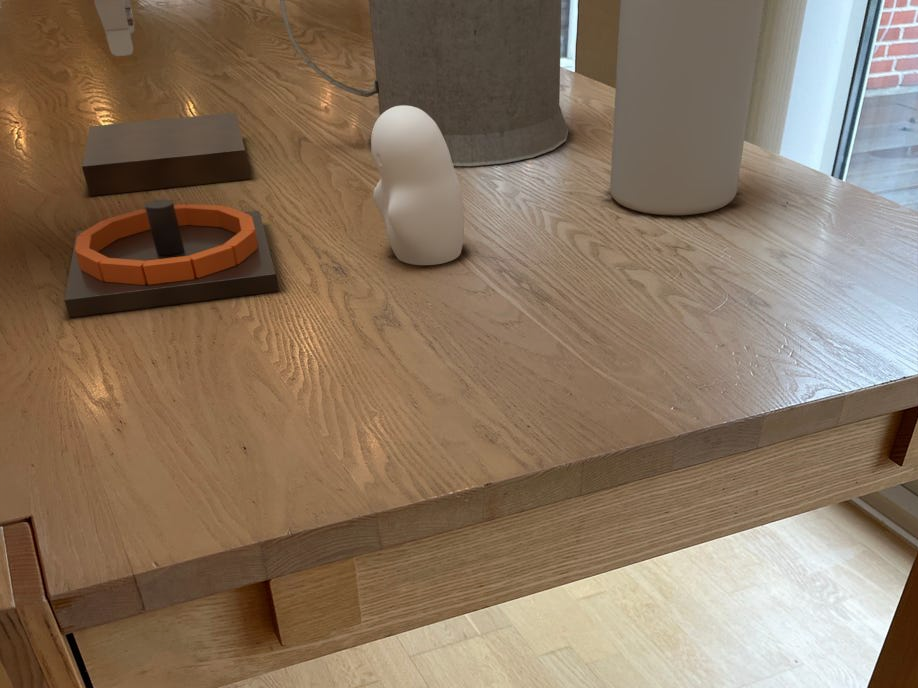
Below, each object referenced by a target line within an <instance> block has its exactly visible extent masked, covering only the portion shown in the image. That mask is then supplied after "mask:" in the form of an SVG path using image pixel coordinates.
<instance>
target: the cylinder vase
mask: <svg viewBox="0 0 918 688" xmlns="http://www.w3.org/2000/svg"><path fill="white" fill-rule="evenodd" d="M764 2H765V0H620V3H619V6H620V7H619V23H618V40H617V56H616V57H617V59H616V74H615V90H614V91H615V94H614V110H613V126H612V127H613V128H612V145H611V146H612V147H611V162H610V163H611V165H610V180H609V181H610V182H609V191H610V192H609V193H610V195H611V197H612V198H613V199H614V201H616V203H618V204H619V205H621V206H623V207H625V208H627V209H629V210H633V211H636V212H640V213H643V214H644V213H645V214H651V215H657V216H658V215H659V216H690V215H691V216H692V215H699V214H705V213H710V212H713V211H716V210H719V209H721V208H724V207H726V206H727V205H729V204H730V203H731V202H732V201H733V200H734V198H735V197H736V195H737V193H738V187H739V180H740V173H741V165H742V159H743V152H744V143H745V137H746V130H747V124H748V118H749V117H748V115H749V108H750V104H751V103H750V101H751V95H752V88H753V80H754V74H755V66H756V60H757V54H758V53H757V52H758V46H759V45H758V44H759V38H760V31H761V23H762V18H763V17H762V16H763V12H764V11H763V9H764V4H765V3H764Z"/></svg>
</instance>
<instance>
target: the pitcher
mask: <svg viewBox="0 0 918 688" xmlns="http://www.w3.org/2000/svg"><path fill="white" fill-rule="evenodd" d="M279 1H280V8H281V13H282V18H283V22H284V25H285V29H286V32H287V35H288V37H289V41H290V42H291V44H292V45H293V48H294V49H295V51H296V52H297V53H298V55H299V56H300V57H301V58H302V60H303V61H304V62H305V63H306V64H307V65H308V66H309V67H310V68H311V69H312V70H313V71H314V72H315V73H317V74H318V75H319V76H320V77H321V78H323V79H324V80H326V81H327V82H328V83H330V84H331V85H333V86H335V87H337V88H339V89H341V90H343V91H345V92H347V93H350V94H353V95H356V96H359V97H366V98H369V97H371V96H374V95H376V94H377V101H378V102H377V103H378V110H379V111H378V112H379V114H378V118H379V117H380V115H381V114H382V113H384V112H385V111H386V110H388V109H390V108H392V107H395V106H401V105H406V106H413V107H416V108H419V109H421V110H422V111H424V112H425V113H426V114H427V115H429V116H430V117H431V118H432V119H433V120H434V122H435V123H436V124H437V126H438V128H439V129H440V131H441V133H442V135H443V138H444V140H445V142H446V144H447V147H448V150H449V153H450V156H451V160H452V163H453V167H482V166H492V165H501V164H502V165H503V164H509V163H512V162H513V163H514V162H518V161H523V160H528V159H532V158H535V157H538V156H541V155H543V154H547V153H549V152H552V151H555V150H556V149H557V148H559V147H560V146H561V145H563V144H564V143H565V142H566V141H567V139H568V133H569V130H568V127H567V124H566V120H565V118H564V115H563V114H564V113H563V111H562V109H561V106H560V101H561V100H560V99H561V98H560V97H561V96H560V93H561V92H560V91H561V47H562V45H561V41H562V40H561V39H562V1H563V0H368V3H369V4H368V5H369V17H370V27H371V38H372V48H373V60H374V68H375V79H373V88H371V89H370V90H361V89H357V88H354V87H352V86H349V85H347V84H344V83H343V82H340V81H339V80H337V79H334V78H333V77H331V76H330V75H329V74H327V73H325V71H323V70H322V69H321V68H319V67H318V66H317V65H316V64H315V63H314V62H313V61H312V60H311V59H310V57H308V56H307V55H306V53H305V52H304V51H303V50H302V48H301V47H300V45H299V44H298V42H297V41H296V39H295V37H294V34H293V32H292V29H291V26H290V22H289V19H288V13H287V9H286V3H285V0H279Z"/></svg>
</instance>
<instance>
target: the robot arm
mask: <svg viewBox="0 0 918 688" xmlns="http://www.w3.org/2000/svg"><path fill="white" fill-rule="evenodd" d="M93 3H94V7H95V10H96V12H97V14H98V18H99V19H100V22H101V24H102V28H103V30H104V33H105V37H106V40H107V44H108V47H109V48H108V49H109V51H110V53H111V54H112V56H114V57H126V56H132V55H133V53H134V42H133V39H132V35H133V34H134V33H135V32H136V26H137V25H136V22H135V17H134V14H133V9H132V4H131V0H93Z"/></svg>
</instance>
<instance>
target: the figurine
mask: <svg viewBox="0 0 918 688" xmlns="http://www.w3.org/2000/svg"><path fill="white" fill-rule="evenodd" d="M370 151H371V157H372V160H373V163H374V165H375V167H376V169H377V171H378V174H379V175H380V178H379V181H378V182H377V184H376V185H375V188H374V189H373V201H374V203H375V206H376V208H377V210H378V212H379V214H380V215H381V217H382V219H383V221H384V223H385V229H386V235H387V239H388V242H389V245H390V248H391V250H392V252H393V254H394V255H395V257H396V259H397V260H398V261H400V262H403V263H405V264H409V265H414V266H435V265H440V264H446V263H448V262H449V263H450V262H451V261H454V260H456V259H457V258H458V257H460V256H461V254H462V250H463V244H464V235H465V208H464V200H463V194H462V188H461V185H460V181H459V179H458V178H459V177H458V175H457V172H456V169H455V166H453V163H452V160H451V156H450V153H449V150H448V147H447V144H446V142H445V140H444V138H443V135H442V133H441V131H440V129H439V128H438V126H437V124H436V123H435V122H434V120H433V119H432V118H431V117H430V116H429V115H427V114H426V113H425V112H424V111H422V110H421V109H419V108H416V107H413V106H406V105H401V106H395V107H392V108H390V109H388V110H386V111H385V112H384V113H382V114H381V115H380V117H379V116H378V117H377V119H376V121H375V123H374V125H373V128H372V132H371V137H370Z"/></svg>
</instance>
